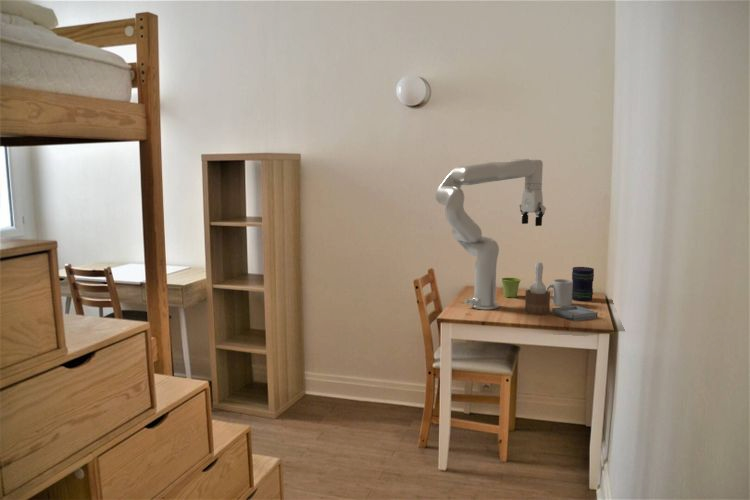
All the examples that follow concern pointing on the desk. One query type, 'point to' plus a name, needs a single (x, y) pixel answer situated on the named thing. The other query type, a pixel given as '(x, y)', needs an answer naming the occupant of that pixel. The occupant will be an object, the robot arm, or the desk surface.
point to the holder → (537, 303)
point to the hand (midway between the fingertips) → (531, 224)
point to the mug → (561, 292)
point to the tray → (574, 313)
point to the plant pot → (510, 286)
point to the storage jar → (582, 284)
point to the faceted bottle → (538, 280)
